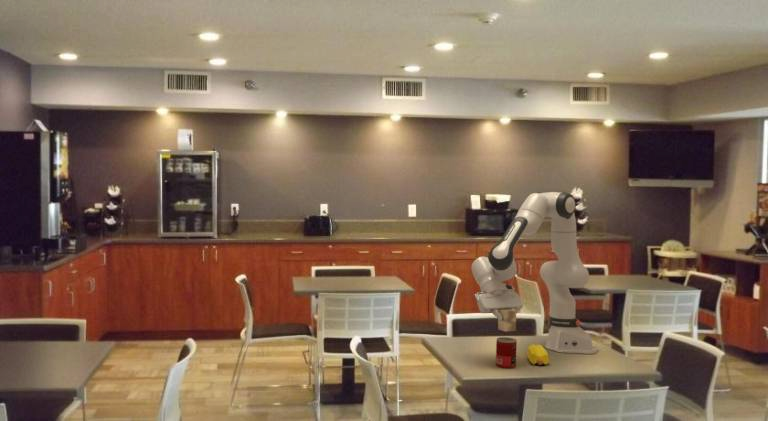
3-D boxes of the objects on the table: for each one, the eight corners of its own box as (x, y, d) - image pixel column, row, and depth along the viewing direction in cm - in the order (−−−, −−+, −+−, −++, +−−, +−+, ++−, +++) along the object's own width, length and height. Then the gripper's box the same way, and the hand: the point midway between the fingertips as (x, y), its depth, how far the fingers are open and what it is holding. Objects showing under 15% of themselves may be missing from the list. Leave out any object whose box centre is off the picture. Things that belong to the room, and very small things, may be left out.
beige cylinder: (507, 328, 305) (508, 308, 305) (515, 330, 301) (516, 310, 300) (497, 329, 302) (498, 309, 302) (505, 331, 298) (506, 311, 298)
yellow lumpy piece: (544, 357, 320) (525, 356, 321) (544, 342, 320) (526, 341, 321) (549, 367, 302) (530, 366, 303) (550, 351, 302) (531, 350, 303)
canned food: (515, 369, 297) (516, 341, 297) (495, 367, 299) (496, 340, 299) (516, 364, 305) (516, 337, 304) (496, 363, 306) (497, 336, 306)
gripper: (476, 288, 302) (491, 316, 294) (516, 286, 312) (531, 313, 304) (469, 297, 306) (483, 325, 298) (509, 295, 316) (523, 322, 308)
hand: (508, 319), depth 301 cm, fingers closed on beige cylinder, 5 cm apart
